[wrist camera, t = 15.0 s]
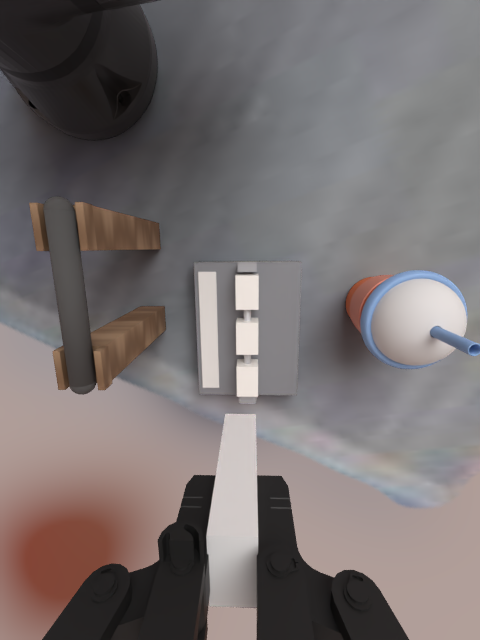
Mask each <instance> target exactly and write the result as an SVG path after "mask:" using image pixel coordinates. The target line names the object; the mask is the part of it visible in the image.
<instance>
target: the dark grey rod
mask: <svg viewBox="0 0 480 640" xmlns="http://www.w3.org/2000/svg"><path fill="white" fill-rule="evenodd" d="M43 211H44V217H45V224H46V231H47V237H48V244H49V251H50V258H51V264H52V271H53V278H54V285H55V291H56V298H57V305H58V312H59V318H60V325H61V332H62V339H63V345H64V352H65V359H66V366H67V372H68V379H69V386H70V388H71V390H72V391H73V392H75V393H77V394H87V393H89V392H90V391H92V390H93V389H94V387H95V385H96V373H95V365H94V357H93V349H92V341H91V333H90V325H89V317H88V309H87V301H86V293H85V285H84V277H83V269H82V261H81V253H80V245H79V237H78V229H77V221H76V213H75V209H74V207H73V205H72V204H71V203H70V201H68V200H67V199H65V198H63V197H58V196H55V197H51V198H49V199H48V200H47V201H46V202H45V204H44V207H43Z"/></svg>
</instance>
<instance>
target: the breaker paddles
mask: <svg viewBox="0 0 480 640" xmlns="http://www.w3.org/2000/svg"><path fill="white" fill-rule="evenodd" d="M235 288H236V310H244V318H237V320H236V355H244V359H237V366H236V370H237V397H258V359H251V355H258V318H251V310H259V275H258V274H236V275H235Z"/></svg>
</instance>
